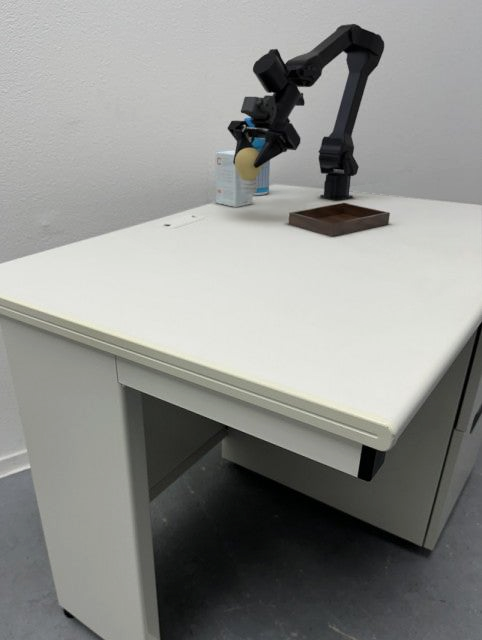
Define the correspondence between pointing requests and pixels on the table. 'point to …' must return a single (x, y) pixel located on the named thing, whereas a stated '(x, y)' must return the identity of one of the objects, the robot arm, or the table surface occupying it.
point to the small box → (229, 181)
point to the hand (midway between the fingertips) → (244, 165)
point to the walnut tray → (338, 219)
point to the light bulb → (247, 169)
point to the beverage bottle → (264, 172)
